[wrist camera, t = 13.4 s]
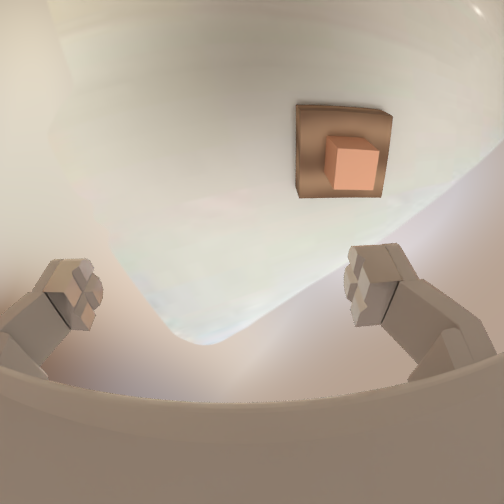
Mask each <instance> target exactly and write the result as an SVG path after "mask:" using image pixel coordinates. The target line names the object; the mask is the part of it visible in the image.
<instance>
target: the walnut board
mask: <svg viewBox="0 0 504 504" xmlns="http://www.w3.org/2000/svg"><path fill="white" fill-rule="evenodd" d="M392 119H393V116H391V115H390V114H388V113H386V112H384V111H382V110H378V109H368V108H357V107H343V106H323V105H296V189H297V193H298V196H299V198H341V197H379V198H381V195H382V190H383V184H384V178H385V172H386V166H387V159H388V152H389V145H390V137H391V129H392ZM327 136H344V137H359V138H365V139H366V140H367V141H369V142H370V143H371V144H372V145H373V146H374V147H375V148H377V149H378V150H379V158H378V165H377V171H376V177H375V183H374V188H373V190H335V189H333V187H332V186H331V184H330V182H329V180H328V178H327V177H326V175H325V173H324V166H325V153H326V138H327Z"/></svg>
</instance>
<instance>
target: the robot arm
mask: <svg viewBox="0 0 504 504" xmlns="http://www.w3.org/2000/svg"><path fill="white" fill-rule="evenodd" d="M348 259H349V262H350V264H349V265H348V266H347V267H346V268H345V273H344V290H345V294H346V297H347V299H348V300H350V301H351V302H352V305H351V309H350V311H351V314H352V317H353V321H354V324H355V327H360V326H370V325H381V324H382V325H381V326H382V327H383V328H384V329H385V330H386V331H387V332H388V333H389V335H390V336H392V337H393V339H394V340H395V341H396V342H397V343H398V344H399V345H400V346H401V347H402V348H403V349H404V350H405V351H406V352H407V353H408V354H409V355H410V356H411V357H412V358H413V359H414V360H415V362H416V363H417V364H418V366H417V367H416V368H415V370H414V371H413V372H412V373H411V375H410V376H409V378H408V383H404V384H400V385H395V386H391V387H386V388H381V389H376V390H370V391H365V392H358V393H352V394H346V395H339V396H331V397H323V398H314V399H303V400H292V401H276V402H252V403H210V402H188V401H187V402H186V401H173V400H172V401H171V400H161V399H151V398H142V397H133V396H126V395H119V394H113V393H107V392H101V391H95V390H90V389H85V388H80V387H75V386H71V385H66V384H62V383H58V382H54V381H50V380H47V379H48V376H47V374H46V373H45V372H44V371H43V370H42V369H41V368H40V366H41V365H42V364H43V363H44V361H45V360H46V359H47V358H48V356H49V355H50V354H51V353H52V352H53V351H54V350H55V348H56V347H57V346H58V345H59V344H60V343H61V341H62V340H63V339H64V338H65V337H66V336H67V335H68V333H69V332H70V331H71V330H83V331H90V329H91V326H92V324H93V321H94V318H95V316H96V314H95V311H94V310H95V309H96V308H97V307H98V306H99V305H100V304H101V301H102V299H103V287H102V283H101V281H100V279H99V277H97V276H96V275H95V274H94V273H93V270H94V267H93V265H92V263H91V261H90V260H88V259H54V260H52V261H50V263H49V264H48V266H47V268H46V269H45V271H44V272H43V274H42V275H41V277H40V279H39V280H38V282H37V283H36V285H35V287H34V288H33V290H32V292H28V293H27V294H25V295H24V296H23V297H22V298H20V299H19V300H18V301H17V302H16V303H14V304H13V305H12V306H11V307H10V308H8V309H7V310H6V311H5V312H4V313H3V314H1V315H0V504H504V352H502V353H500V354H497V353H496V351H495V349H494V347H493V344H492V342H491V340H490V338H489V336H488V334H487V332H486V330H485V328H484V326H483V324H482V322H481V320H480V319H478V318H477V317H476V316H474V315H473V314H472V313H470V312H469V311H468V310H466V309H465V308H464V307H462V306H461V305H460V304H458V303H457V302H455V301H454V300H453V299H451V298H450V297H448V296H447V295H446V294H444V293H443V292H441V291H440V290H439V289H437V288H436V287H434V286H433V285H431V284H430V283H429V282H427V281H425V280H424V279H419V278H418V276H417V274H416V272H415V271H414V269H413V267H412V265H411V264H410V262H409V260H408V259H407V257H406V255H405V253H404V252H403V250H402V248H401V247H400V245H399V244H397V243H391V244H382V245H363V246H351V247H350V249H349V253H348Z"/></svg>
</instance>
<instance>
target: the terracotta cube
mask: <svg viewBox="0 0 504 504" xmlns="http://www.w3.org/2000/svg"><path fill="white" fill-rule="evenodd" d="M378 158H379V150H378V149H377V148H375V147H374V146H373V145H372V144H371V143H370V142H369V141H367V140H366V139H365V138H359V137H344V136H327V138H326V153H325V166H324V173H325V175H326V177H327V178H328V180H329V182H330V184H331V186H332V187H333V189H335V190H373V188H374V183H375V177H376V171H377V165H378Z"/></svg>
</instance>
